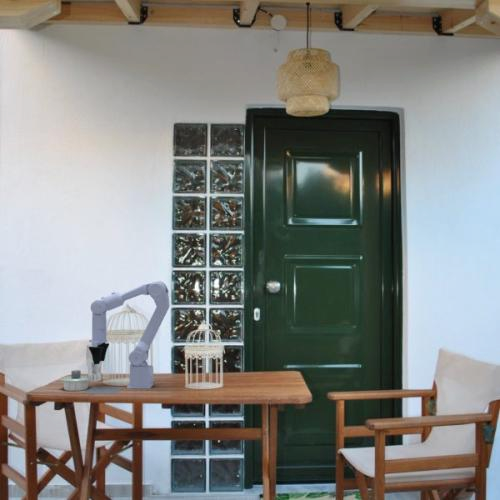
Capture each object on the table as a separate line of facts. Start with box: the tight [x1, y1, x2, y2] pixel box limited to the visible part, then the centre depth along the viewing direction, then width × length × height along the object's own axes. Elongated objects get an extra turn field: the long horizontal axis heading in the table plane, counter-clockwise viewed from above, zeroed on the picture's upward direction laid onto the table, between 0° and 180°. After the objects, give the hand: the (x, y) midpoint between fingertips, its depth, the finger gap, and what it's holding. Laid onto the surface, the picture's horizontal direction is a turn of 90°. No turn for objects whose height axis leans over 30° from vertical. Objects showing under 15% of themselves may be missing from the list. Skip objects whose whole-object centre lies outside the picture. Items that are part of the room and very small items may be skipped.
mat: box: [82, 386, 124, 395], centre depth 256 cm, size 13×13×1 cm
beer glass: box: [85, 344, 103, 382], centre depth 278 cm, size 7×7×15 cm
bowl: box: [63, 381, 89, 392], centre depth 259 cm, size 9×9×4 cm
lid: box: [59, 369, 91, 383], centre depth 259 cm, size 12×12×3 cm
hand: (99, 362), depth 265 cm, fingers open, 7 cm apart
